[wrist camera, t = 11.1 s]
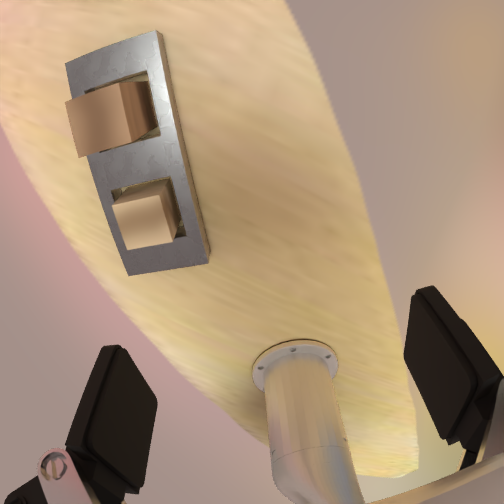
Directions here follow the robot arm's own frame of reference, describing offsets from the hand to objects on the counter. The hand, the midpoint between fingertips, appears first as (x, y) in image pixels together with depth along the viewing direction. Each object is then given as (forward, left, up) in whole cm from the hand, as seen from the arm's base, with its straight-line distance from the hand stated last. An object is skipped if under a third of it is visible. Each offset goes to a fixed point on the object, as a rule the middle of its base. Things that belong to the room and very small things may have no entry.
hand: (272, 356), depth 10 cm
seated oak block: (-2, +10, -24) cm, 26 cm away
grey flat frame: (+3, +10, -24) cm, 26 cm away
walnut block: (+8, +10, -24) cm, 27 cm away
